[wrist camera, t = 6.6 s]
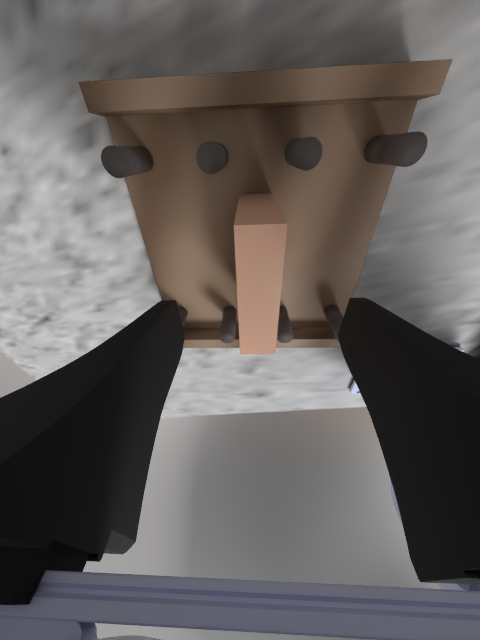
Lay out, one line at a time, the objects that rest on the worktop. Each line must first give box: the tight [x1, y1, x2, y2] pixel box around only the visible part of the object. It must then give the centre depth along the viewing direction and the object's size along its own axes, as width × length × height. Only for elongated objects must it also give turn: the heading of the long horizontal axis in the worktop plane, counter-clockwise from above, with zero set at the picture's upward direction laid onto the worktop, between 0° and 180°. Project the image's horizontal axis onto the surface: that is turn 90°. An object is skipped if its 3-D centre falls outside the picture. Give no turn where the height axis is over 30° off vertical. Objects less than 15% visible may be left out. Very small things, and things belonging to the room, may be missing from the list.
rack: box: [79, 59, 452, 348], centre depth 15 cm, size 16×17×5 cm
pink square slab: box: [234, 193, 288, 354], centre depth 13 cm, size 2×7×7 cm, turn 2°
